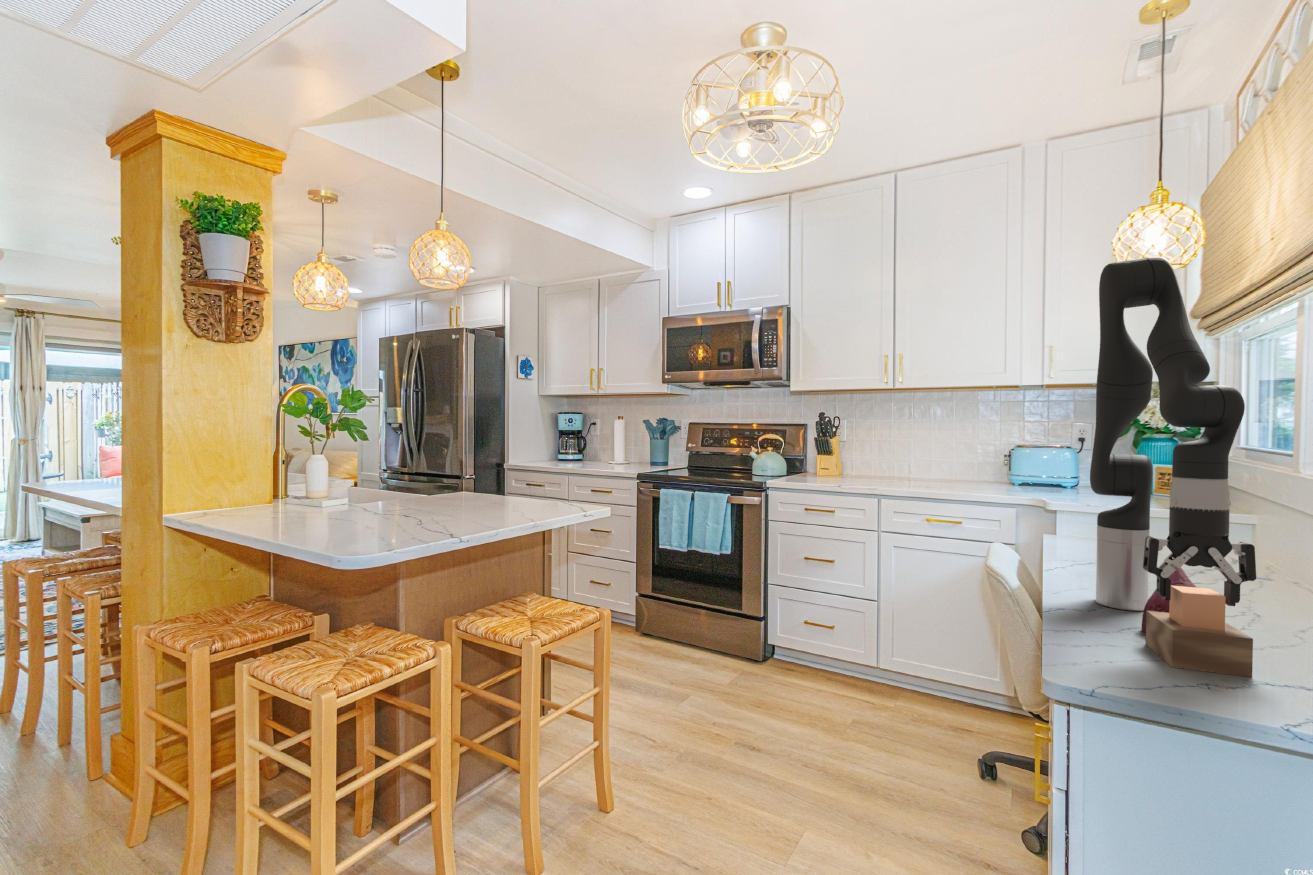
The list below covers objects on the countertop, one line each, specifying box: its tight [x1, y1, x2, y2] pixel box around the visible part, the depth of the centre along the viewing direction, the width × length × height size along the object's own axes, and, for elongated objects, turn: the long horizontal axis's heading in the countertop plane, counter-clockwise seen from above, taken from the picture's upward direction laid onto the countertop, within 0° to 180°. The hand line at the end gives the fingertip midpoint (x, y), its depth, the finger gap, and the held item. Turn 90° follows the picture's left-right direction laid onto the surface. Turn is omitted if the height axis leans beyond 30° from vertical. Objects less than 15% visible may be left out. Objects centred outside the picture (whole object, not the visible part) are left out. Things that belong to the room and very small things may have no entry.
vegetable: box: [1141, 566, 1197, 634], centre depth 117 cm, size 10×10×15 cm
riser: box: [1145, 611, 1254, 678], centre depth 103 cm, size 12×10×6 cm
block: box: [1169, 585, 1226, 631], centre depth 103 cm, size 6×6×6 cm
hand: (1196, 602), depth 103 cm, fingers open, 8 cm apart
